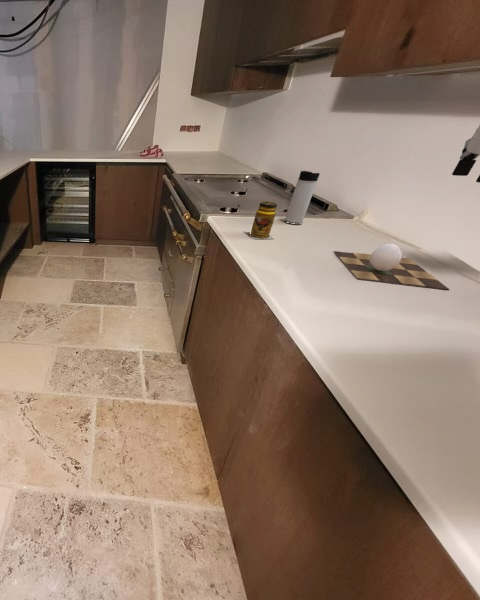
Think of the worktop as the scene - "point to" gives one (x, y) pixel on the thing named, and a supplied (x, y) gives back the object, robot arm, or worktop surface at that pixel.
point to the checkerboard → (389, 271)
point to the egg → (385, 257)
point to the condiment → (263, 221)
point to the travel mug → (301, 197)
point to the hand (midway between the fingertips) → (471, 178)
